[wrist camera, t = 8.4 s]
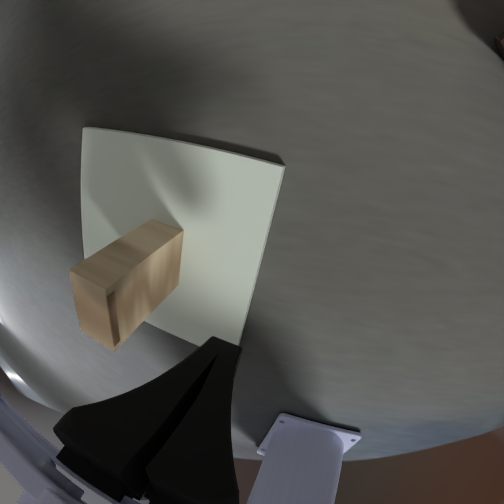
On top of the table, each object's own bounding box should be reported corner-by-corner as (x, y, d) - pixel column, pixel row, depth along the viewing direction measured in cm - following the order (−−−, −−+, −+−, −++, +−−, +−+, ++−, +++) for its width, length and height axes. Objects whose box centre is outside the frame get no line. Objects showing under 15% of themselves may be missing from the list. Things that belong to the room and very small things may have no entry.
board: (236, 355, 21) (233, 360, 21) (92, 288, 23) (88, 291, 23) (285, 165, 14) (283, 167, 14) (89, 126, 17) (83, 127, 16)
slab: (179, 284, 19) (115, 352, 13) (148, 272, 19) (80, 331, 13) (184, 230, 17) (106, 290, 11) (150, 219, 18) (68, 269, 11)
